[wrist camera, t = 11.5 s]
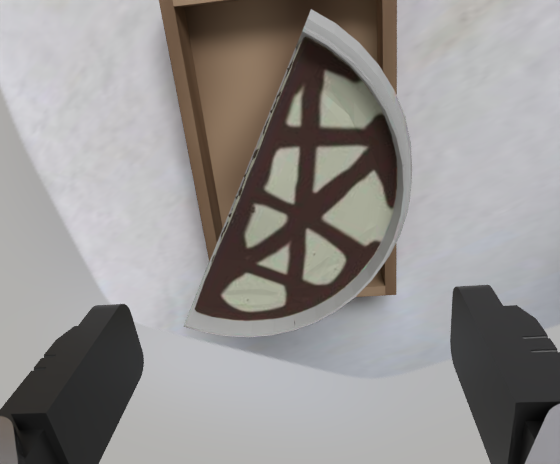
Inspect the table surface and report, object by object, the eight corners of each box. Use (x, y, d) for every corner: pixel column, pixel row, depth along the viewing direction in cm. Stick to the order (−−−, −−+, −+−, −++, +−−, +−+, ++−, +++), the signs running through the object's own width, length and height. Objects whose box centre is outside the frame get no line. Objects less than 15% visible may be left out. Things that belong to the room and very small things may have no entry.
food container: (319, 266, 28) (324, 389, 18) (222, 227, 27) (179, 336, 18) (426, 64, 22) (505, 99, 13) (310, 10, 22) (310, 8, 13)
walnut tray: (387, -32, 21) (396, -37, 19) (389, 272, 28) (396, 294, 26) (172, -6, 22) (157, -8, 20) (224, 282, 29) (217, 304, 27)
